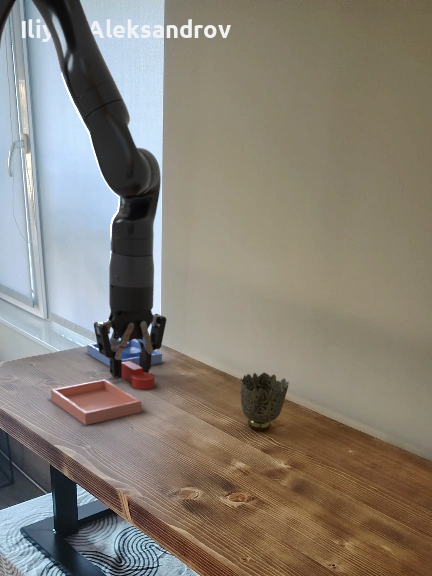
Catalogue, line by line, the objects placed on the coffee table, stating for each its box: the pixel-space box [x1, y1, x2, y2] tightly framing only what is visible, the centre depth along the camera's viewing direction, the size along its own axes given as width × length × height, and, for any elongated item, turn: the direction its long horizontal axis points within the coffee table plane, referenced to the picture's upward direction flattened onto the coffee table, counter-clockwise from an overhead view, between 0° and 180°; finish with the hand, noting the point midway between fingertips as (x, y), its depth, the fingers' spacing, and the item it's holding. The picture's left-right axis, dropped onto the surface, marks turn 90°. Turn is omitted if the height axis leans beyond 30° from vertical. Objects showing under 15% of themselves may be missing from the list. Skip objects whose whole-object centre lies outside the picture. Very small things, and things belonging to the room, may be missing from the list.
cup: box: [240, 372, 290, 432], centre depth 98 cm, size 8×7×8 cm
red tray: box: [50, 378, 142, 426], centre depth 102 cm, size 11×10×2 cm
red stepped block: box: [122, 361, 156, 390], centre depth 113 cm, size 8×4×3 cm, turn 40°
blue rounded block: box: [109, 337, 141, 359], centre depth 123 cm, size 8×4×3 cm, turn 40°
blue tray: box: [87, 339, 163, 367], centre depth 124 cm, size 11×10×2 cm
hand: (130, 374), depth 114 cm, fingers open, 5 cm apart
